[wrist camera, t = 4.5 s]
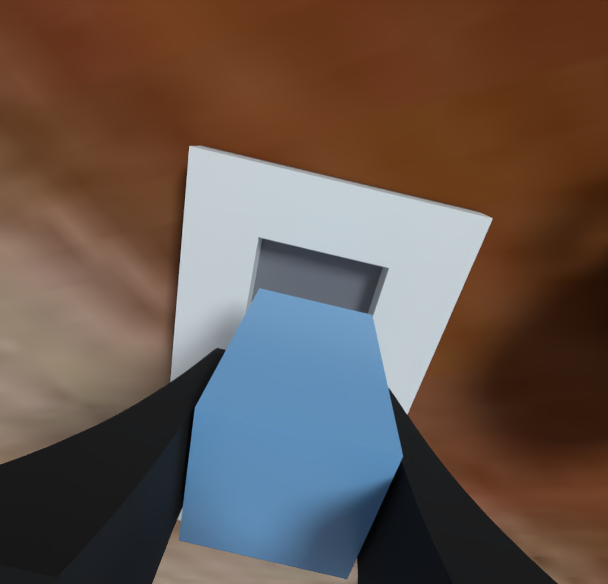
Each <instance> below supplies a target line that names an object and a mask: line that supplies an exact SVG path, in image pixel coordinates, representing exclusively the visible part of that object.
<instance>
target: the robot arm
mask: <svg viewBox="0 0 608 584" xmlns="http://www.w3.org/2000/svg"><path fill="white" fill-rule="evenodd" d="M225 351H226V350H225V349H220V348H216V349H214V350H213V351H212V352H210V353H209V354H208V355H206V356H205V357H204V358H203V359H201V360H200V361H199V362H198V363H196V364H195V365H194V366H192V367H191V368H190V369H188V370H187V371H186V372H184V373H183V374H181V375H180V376H179V377H177V378H176V379H174V380H173V381H171V382H170V383H169V384H167V385H166V386H164V387H163V388H161V389H159V390H158V391H156V392H155V393H153V394H152V395H150V396H148V397H147V398H145V399H144V400H142V401H140V402H139V403H137V404H135V405H134V406H132V407H130V408H128V409H127V410H125V411H123V412H121V413H119V414H118V415H116V416H114V417H112V418H110V419H108V420H106V421H104V422H102V423H100V424H98V425H96V426H94V427H92V428H90V429H87V430H85V431H83V432H81V433H78V434H76V435H74V436H72V437H69V438H67V439H65V440H63V441H60V442H58V443H56V444H54V445H51V446H49V447H46V448H44V449H41V450H39V451H36V452H33V453H31V454H28V455H26V456H23V457H20V458H18V459H15V460H12V461H9V462H6V463H4V464H1V465H0V584H152V583H153V580H154V577H155V575H156V572H157V569H158V567H159V564H160V562H161V559H162V556H163V554H164V551H165V549H166V546H167V544H168V541H169V538H170V536H171V533H172V531H173V528H174V526H175V524H176V521H177V519H178V517H179V515H180V512H181V510H182V508H183V502H184V494H185V485H186V477H187V469H188V461H189V452H190V444H191V436H192V428H193V419H194V411H195V407H196V405H197V403H198V401H199V399H200V397H201V396H202V394H203V392H204V390H205V388H206V386H207V384H208V383H209V381H210V379H211V377H212V375H213V373H214V371H215V370H216V368H217V366H218V364H219V362H220V360H221V358H222V357H223V355H224V353H225ZM388 389H389V394H390V398H391V403H392V408H393V412H394V417H395V421H396V426H397V431H398V435H399V440H400V444H401V449H402V454H403V458H402V460H401V462H400V464H399V466H398V469H397V471H396V473H395V475H394V477H393V480H392V482H391V484H390V486H389V488H388V491H387V493H386V495H385V497H384V499H383V502H382V504H381V506H380V508H379V510H378V513H377V515H376V517H375V519H374V521H373V523H372V526H371V528H370V530H369V532H368V534H367V537H366V539H365V541H364V543H363V545H362V548H361V550H360V552H359V554H358V556H357V562H358V584H558V583H556V582H555V581H554V580H553V579H552V578H551V577H550V576H549V575H548V574H546V573H545V572H544V571H543V570H542V569H541V568H540V567H539V566H538V565H537V564H536V563H535V562H533V561H532V560H531V559H530V558H529V557H528V556H527V555H526V554H525V553H524V552H523V551H522V550H521V549H520V548H519V547H518V546H517V545H516V544H515V543H514V542H513V541H512V540H511V539H510V538H509V537H508V536H507V535H506V534H505V533H504V532H503V531H502V530H501V529H500V528H499V527H498V526H497V525H496V524H495V523H494V522H493V521H492V520H491V519H490V518H489V517H488V516H487V515H486V514H485V513H484V512H483V510H482V509H481V508H480V507H479V506H478V505H477V504H476V503H475V502H474V500H473V499H472V498H471V497H470V496H469V495H468V494H467V493H466V492H465V491H464V489H463V488H462V487H461V486H460V485H459V483H458V482H457V481H456V480H455V479H454V477H453V476H452V475H451V474H450V472H449V471H448V470H447V469H446V467H445V466H444V465H443V464H442V462H441V461H440V460H439V459H438V457H437V456H436V455H435V453H434V452H433V451H432V449H431V448H430V447H429V445H428V444H427V442H426V441H425V440H424V438H423V437H422V435H421V434H420V433H419V431H418V430H417V428H416V427H415V425H414V424H413V422H412V421H411V420H410V418H409V417H408V415H407V414H406V412H405V411H404V409H403V408H402V406H401V405H400V403H399V402H398V400H397V399H396V397H395V396H394V394H393V393H392V391H391V390H390V388H388Z"/></svg>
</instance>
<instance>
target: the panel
mask: <svg viewBox="0 0 608 584" xmlns="http://www.w3.org/2000/svg"><path fill="white" fill-rule="evenodd" d="M492 219H493V218H491V217H489V216H486V215H484V214H482V213H480V212H478V211H474V210H470V209H466V208H462V207H457V206H453V205H449V204H445V203H441V202H436V201H432V200H428V199H424V198H420V197H415V196H411V195H407V194H403V193H399V192H395V191H390V190H386V189H382V188H378V187H374V186H369V185H365V184H361V183H357V182H353V181H348V180H344V179H340V178H336V177H332V176H327V175H323V174H319V173H315V172H311V171H307V170H302V169H298V168H294V167H290V166H286V165H281V164H277V163H273V162H269V161H265V160H260V159H256V158H252V157H248V156H244V155H240V154H235V153H231V152H227V151H223V150H219V149H214V148H210V147H206V146H189V157H188V170H187V182H186V194H185V207H184V219H183V231H182V244H181V256H180V268H179V281H178V293H177V305H176V318H175V330H174V342H173V355H172V367H171V379H170V382H171V381H173V380H174V379H176V378H177V377H179V376H180V375H181V374H183V373H184V372H186V371H187V370H188V369H190V368H191V367H192V366H194V365H195V364H196V363H198V362H199V361H200V360H201V359H203V358H204V357H205V356H206V355H208V354H209V353H210V352H212V351H213V350H214V349H216V348H220V349H225V350H226V349H227V347H228V346H229V344H230V342H231V340H232V338H233V336H234V334H235V333H236V331H237V329H238V327H239V325H240V323H241V321H242V320H243V318H244V316H245V314H246V312H247V310H248V308H249V307H250V305H251V303H252V301H253V299H254V297H255V295H256V294H257V292H258V290H259V288H261V289H265V290H269V291H273V292H277V293H282V294H286V295H290V296H294V297H299V298H303V299H307V300H311V301H316V302H320V303H324V304H328V305H333V306H337V307H341V308H345V309H349V310H354V311H358V312H362V313H366V314H371V315H372V316H373V320H374V325H375V329H376V334H377V339H378V343H379V348H380V352H381V357H382V362H383V366H384V371H385V375H386V380H387V385H388V388H390V390H391V391H392V393H393V394H394V396H395V397H396V399H397V400H398V402H399V403H400V405H401V406H402V408H403V409H404V411H405V412H406V414H408V412H409V409H410V407H411V405H412V402H413V400H414V398H415V396H416V393H417V391H418V389H419V386H420V384H421V382H422V380H423V377H424V375H425V373H426V370H427V368H428V366H429V363H430V361H431V359H432V357H433V354H434V352H435V350H436V347H437V345H438V343H439V341H440V338H441V336H442V334H443V331H444V329H445V327H446V324H447V322H448V320H449V318H450V315H451V313H452V311H453V308H454V306H455V304H456V302H457V299H458V297H459V295H460V292H461V290H462V288H463V285H464V283H465V281H466V279H467V276H468V274H469V272H470V269H471V267H472V265H473V263H474V260H475V258H476V256H477V253H478V251H479V249H480V246H481V244H482V242H483V240H484V237H485V235H486V233H487V230H488V228H489V226H490V224H491V221H492ZM182 510H183V508H182ZM182 510H181V512H180V515H179V517H178V519H177V520H181V518H182Z"/></svg>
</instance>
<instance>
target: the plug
mask: <svg viewBox="0 0 608 584" xmlns="http://www.w3.org/2000/svg"><path fill="white" fill-rule="evenodd" d="M402 458H403V454H402V449H401V444H400V440H399V435H398V431H397V426H396V421H395V417H394V412H393V408H392V403H391V398H390V394H389V389H388V385H387V380H386V375H385V371H384V366H383V362H382V357H381V352H380V348H379V343H378V339H377V334H376V329H375V325H374V320H373V316H372V315H371V314H366V313H362V312H358V311H354V310H349V309H345V308H341V307H337V306H333V305H328V304H324V303H320V302H316V301H311V300H307V299H303V298H299V297H294V296H290V295H286V294H282V293H277V292H273V291H269V290H265V289H261V288H259V290H258V292H257V294H256V295H255V297H254V299H253V301H252V303H251V305H250V307H249V308H248V310H247V312H246V314H245V316H244V318H243V320H242V321H241V323H240V325H239V327H238V329H237V331H236V333H235V334H234V336H233V338H232V340H231V342H230V344H229V346H228V347H227V349H226V351H225V353H224V355H223V357H222V358H221V360H220V362H219V364H218V366H217V368H216V370H215V371H214V373H213V375H212V377H211V379H210V381H209V383H208V384H207V386H206V388H205V390H204V392H203V394H202V396H201V397H200V399H199V401H198V403H197V405H196V407H195V411H194V419H193V428H192V436H191V444H190V452H189V461H188V469H187V477H186V485H185V494H184V502H183V510H182V518H181V527H180V535H179V541H184V542H188V543H192V544H197V545H201V546H205V547H210V548H214V549H218V550H223V551H227V552H231V553H236V554H240V555H244V556H249V557H253V558H257V559H262V560H266V561H270V562H275V563H279V564H284V565H288V566H292V567H297V568H301V569H305V570H310V571H314V572H318V573H323V574H327V575H331V576H336V577H340V578H344V579H347V578H348V576H349V574H350V572H351V569H352V567H353V565H354V563H355V561H356V559H357V556H358V554H359V552H360V550H361V548H362V545H363V543H364V541H365V539H366V537H367V534H368V532H369V530H370V528H371V526H372V523H373V521H374V519H375V517H376V515H377V513H378V510H379V508H380V506H381V504H382V502H383V499H384V497H385V495H386V493H387V491H388V488H389V486H390V484H391V482H392V480H393V477H394V475H395V473H396V471H397V469H398V466H399V464H400V462H401V460H402Z"/></svg>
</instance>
